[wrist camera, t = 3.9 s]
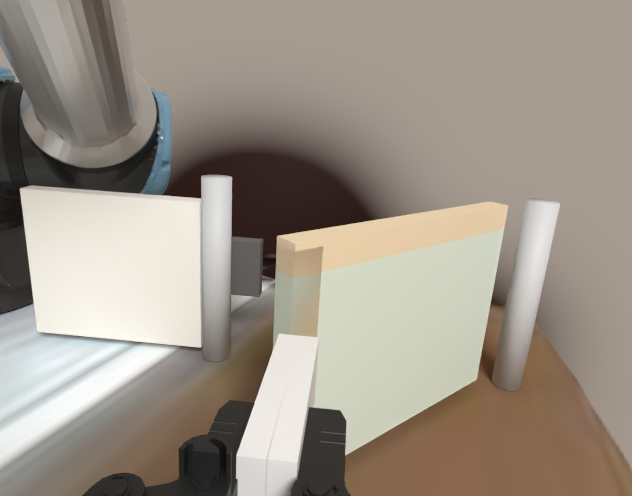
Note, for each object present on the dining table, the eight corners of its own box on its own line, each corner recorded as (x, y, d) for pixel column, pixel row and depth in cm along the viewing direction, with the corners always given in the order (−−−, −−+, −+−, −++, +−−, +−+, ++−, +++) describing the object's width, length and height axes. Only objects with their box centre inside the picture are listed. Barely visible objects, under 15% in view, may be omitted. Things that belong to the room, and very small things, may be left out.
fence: (57, 327, 46) (39, 159, 42) (512, 370, 44) (548, 197, 39) (35, 344, 43) (12, 164, 39) (524, 392, 41) (565, 206, 36)
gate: (461, 371, 41) (490, 201, 37) (476, 379, 40) (508, 205, 36) (267, 475, 29) (277, 236, 24) (283, 491, 28) (295, 243, 23)
